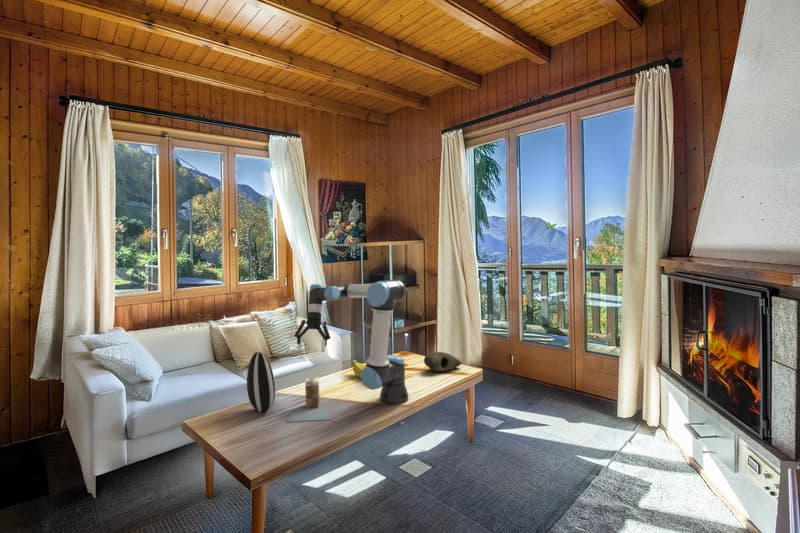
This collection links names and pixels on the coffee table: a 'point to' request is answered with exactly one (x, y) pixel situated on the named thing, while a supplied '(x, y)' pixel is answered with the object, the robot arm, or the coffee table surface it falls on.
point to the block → (312, 393)
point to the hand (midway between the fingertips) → (311, 351)
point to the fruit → (357, 368)
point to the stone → (441, 361)
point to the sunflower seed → (260, 383)
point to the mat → (310, 414)
